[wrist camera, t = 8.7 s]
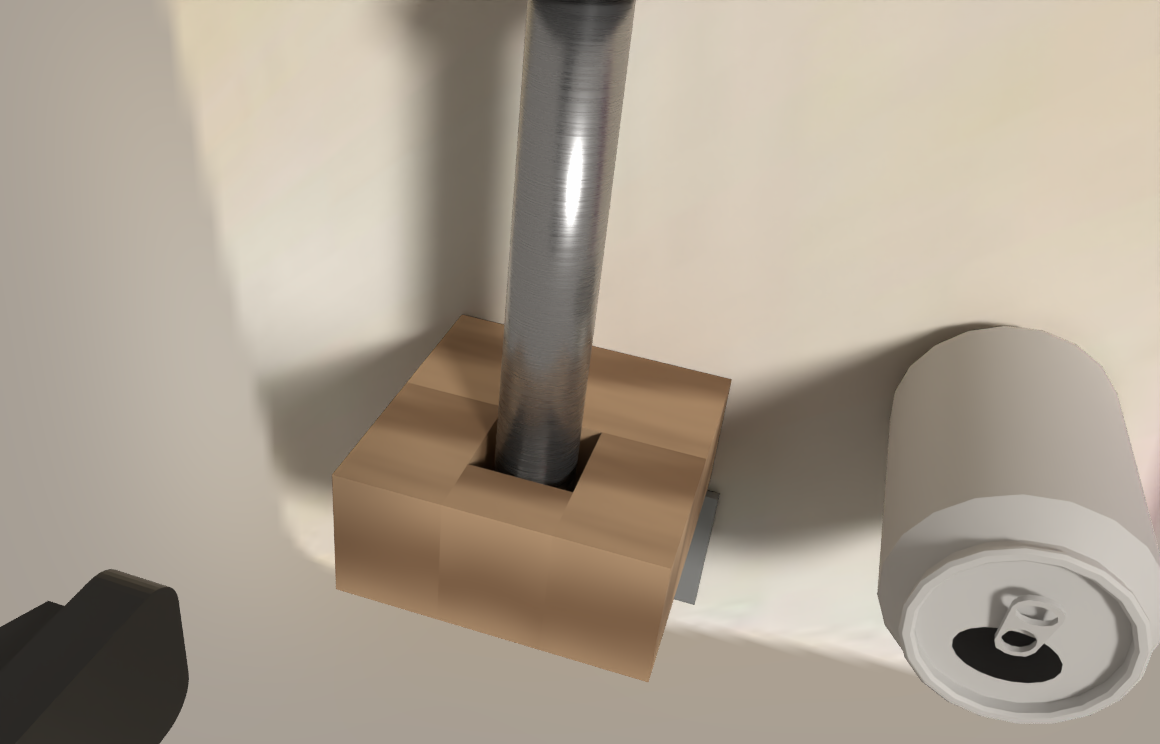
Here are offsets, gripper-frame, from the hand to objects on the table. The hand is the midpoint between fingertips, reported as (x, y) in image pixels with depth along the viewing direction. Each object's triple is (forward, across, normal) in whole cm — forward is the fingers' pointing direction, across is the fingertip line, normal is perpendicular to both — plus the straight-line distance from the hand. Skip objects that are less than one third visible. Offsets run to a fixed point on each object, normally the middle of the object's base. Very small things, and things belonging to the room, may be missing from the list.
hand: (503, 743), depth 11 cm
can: (+28, -10, +10) cm, 31 cm away
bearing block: (+27, +5, +14) cm, 31 cm away
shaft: (+22, +5, +6) cm, 24 cm away
